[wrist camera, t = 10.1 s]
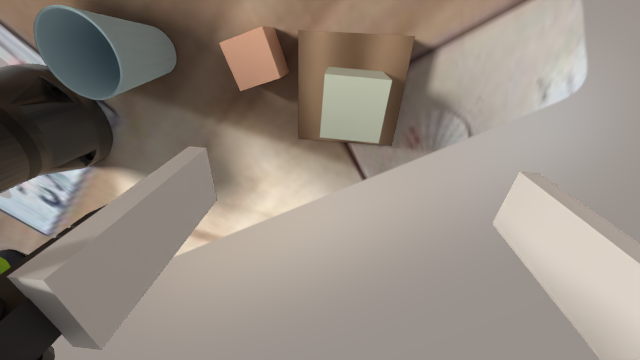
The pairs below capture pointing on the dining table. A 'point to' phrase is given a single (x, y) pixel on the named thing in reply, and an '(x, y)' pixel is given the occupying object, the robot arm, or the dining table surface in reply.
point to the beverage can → (9, 259)
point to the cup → (100, 51)
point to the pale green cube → (354, 104)
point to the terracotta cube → (255, 57)
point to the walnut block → (354, 54)
